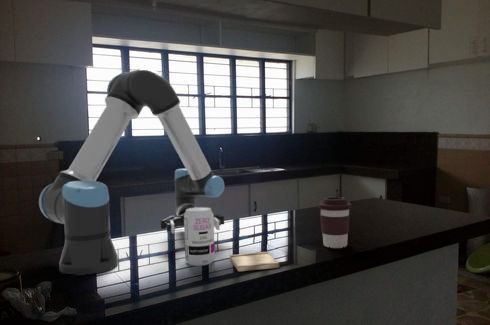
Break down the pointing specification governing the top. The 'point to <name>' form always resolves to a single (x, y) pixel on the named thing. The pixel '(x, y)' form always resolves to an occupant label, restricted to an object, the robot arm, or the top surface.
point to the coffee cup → (335, 221)
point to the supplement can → (199, 236)
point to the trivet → (253, 261)
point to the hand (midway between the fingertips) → (196, 227)
